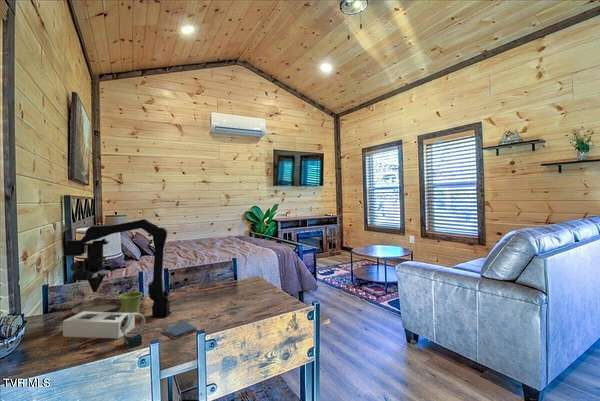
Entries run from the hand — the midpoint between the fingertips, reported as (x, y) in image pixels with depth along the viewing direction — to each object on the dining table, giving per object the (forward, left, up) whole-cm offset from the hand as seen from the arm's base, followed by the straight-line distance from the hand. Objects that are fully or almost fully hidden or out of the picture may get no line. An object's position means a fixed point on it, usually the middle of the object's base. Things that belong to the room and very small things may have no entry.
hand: (94, 291), depth 131 cm
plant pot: (-9, -11, -13) cm, 20 cm away
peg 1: (-4, +9, -13) cm, 16 cm away
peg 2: (-14, +9, -13) cm, 21 cm away
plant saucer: (+7, -12, -14) cm, 20 cm away
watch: (-28, +18, -13) cm, 36 cm away
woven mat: (-40, +6, -14) cm, 43 cm away
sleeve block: (-9, +9, -13) cm, 18 cm away
